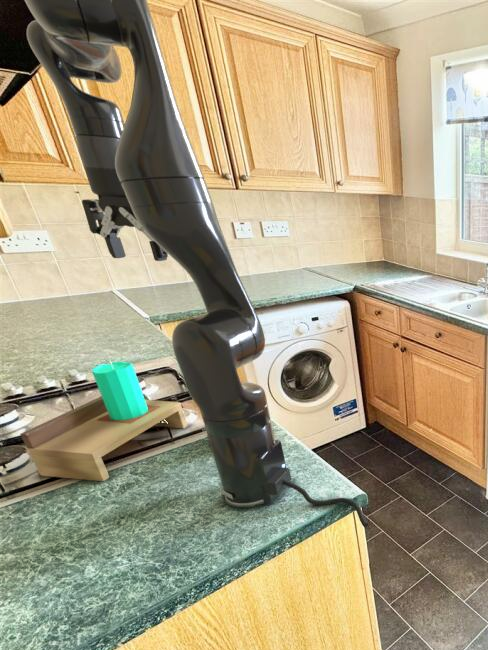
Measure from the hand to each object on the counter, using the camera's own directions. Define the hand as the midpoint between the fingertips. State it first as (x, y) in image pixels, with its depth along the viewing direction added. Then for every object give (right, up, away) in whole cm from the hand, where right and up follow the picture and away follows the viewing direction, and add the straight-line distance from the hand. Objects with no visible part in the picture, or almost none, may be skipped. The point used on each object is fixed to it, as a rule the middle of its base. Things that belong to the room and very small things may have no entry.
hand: (140, 259), depth 82 cm
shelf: (-7, -38, +4) cm, 39 cm away
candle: (-6, -31, +5) cm, 32 cm away
